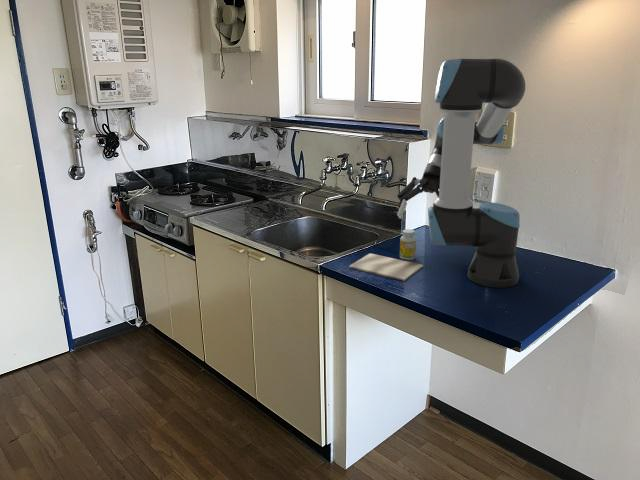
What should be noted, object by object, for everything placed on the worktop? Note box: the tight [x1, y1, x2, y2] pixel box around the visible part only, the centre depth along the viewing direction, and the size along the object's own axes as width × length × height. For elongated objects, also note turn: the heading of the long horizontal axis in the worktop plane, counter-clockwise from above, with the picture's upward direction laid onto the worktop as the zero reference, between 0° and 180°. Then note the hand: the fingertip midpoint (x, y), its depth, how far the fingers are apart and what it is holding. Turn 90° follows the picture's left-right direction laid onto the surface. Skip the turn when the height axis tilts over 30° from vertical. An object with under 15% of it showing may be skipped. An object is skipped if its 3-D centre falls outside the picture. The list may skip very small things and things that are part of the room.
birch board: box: [348, 253, 424, 282], centre depth 171 cm, size 20×14×1 cm
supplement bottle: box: [399, 228, 417, 261], centre depth 178 cm, size 5×5×10 cm
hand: (416, 219), depth 181 cm, fingers open, 13 cm apart
